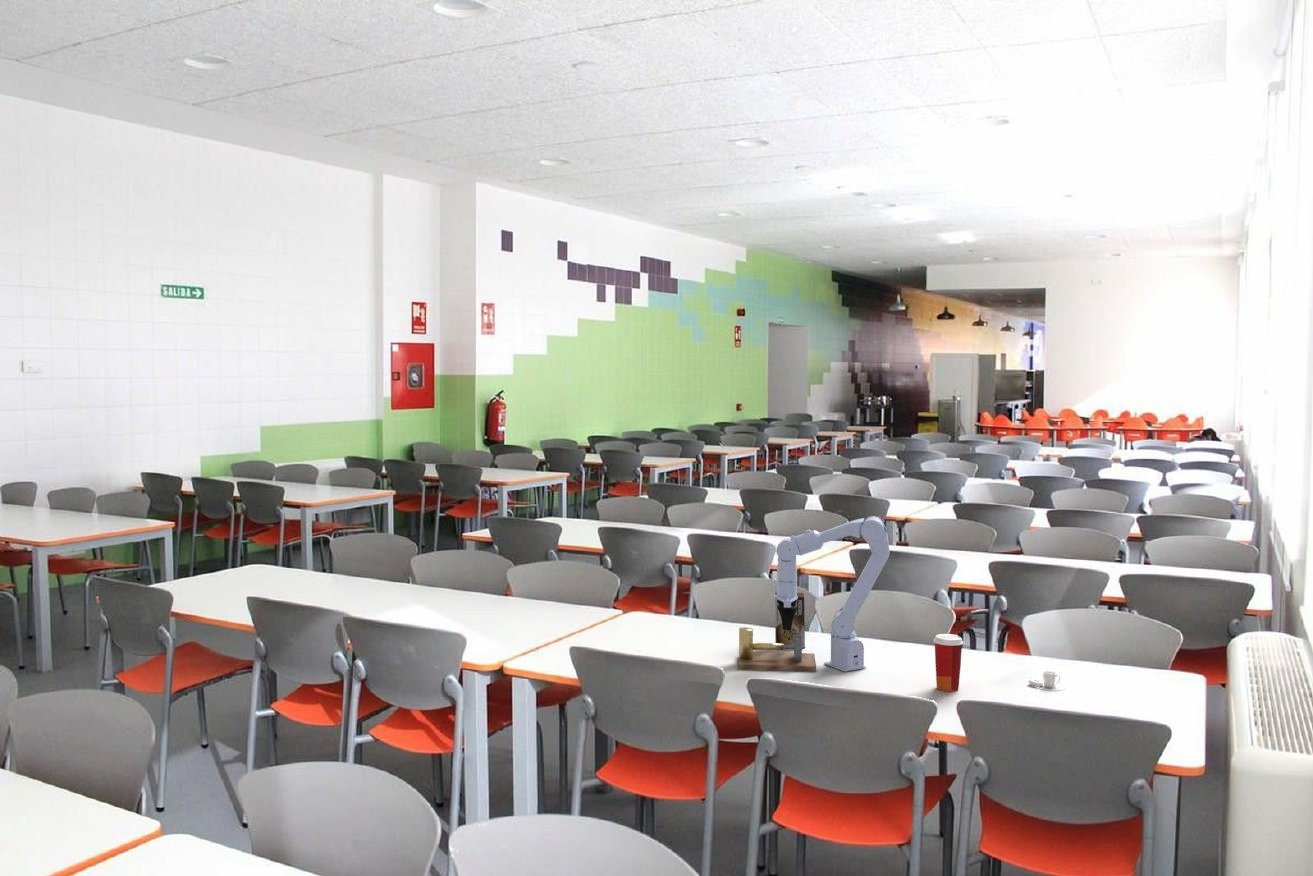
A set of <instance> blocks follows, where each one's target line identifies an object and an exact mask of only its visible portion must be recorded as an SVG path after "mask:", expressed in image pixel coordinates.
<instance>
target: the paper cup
mask: <svg viewBox="0 0 1313 876" xmlns="http://www.w3.org/2000/svg"><path fill="white" fill-rule="evenodd" d="M932 642H933V643H934V658H935V659H934V660H935V662H934V663H935V680H936V682H935V683H936V689H937V690H938V691H941V692H946V693H948V692H949V693H953V692H958V691H959V687H960V679H961V678H960V674H961V668H962V667H961V665H962V653H963V652H962V651H963V644H964V641H963V639H962V637H961V636H959V635H956V634H951V633H939V634H938V633H937V634H936V635H935V637H934V639H933V641H932Z"/></svg>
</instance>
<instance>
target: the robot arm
mask: <svg viewBox="0 0 1313 876" xmlns="http://www.w3.org/2000/svg"><path fill="white" fill-rule="evenodd" d="M849 536H850V537H854V538H857V539H860V538H861V537H862V538H863V539H864V542H866V543H867V544H868V547H869V550H870V553H871V555H870V556H869V558H868V560H867V562H866V564H865V566H864V568H863V570H862V572H861V573H860V575H859V577H858V579H857V580H856V582H855V584H854V586H853V588H852V589H851V591H850V594H849V595H848V597H847V598H846V599H845V600H846V601H845V602H844V604H843V605H842V607H841V608H840V609H839V610H837V611H836V612H835V613H834V614H833V618H832V621H831V624H830V625H831V629H832V631H831V632H830V661H824V662H823V664H824V665H826V666H828V667H832V668H834V669H836V670H839V671H843V672H850V671H851V672H852V671H856V670H862V669H866V668H867V665H865V664H864V662H865V661H864V660H865V659H864V658H865V657H864V656H865V647H864V644H863V642H862V641H861V640H860V639H858V637H857V632H856V631H855V630H854V629H855V624H856V619H857V618H858V615H859V613H860V611H861V609H862V607H863V605H864V603H865V602H866V600H867V598H868V596H869V594H870V593H871V590H872V589H873V587H874V585H875V583H876V581H877V580H878V577H879V575H880V574H881V572H882V571H883V569H884V567H885V565H886V563H887V562H888V559H889V558H890V553H891V552H890V544H889V543H890V542H889V537H888V529H887V527H886V525H885V523H884V520H882V518H880V517H878V516H876V515H872V516H871V515H870V516H867V517H866V518H865V517H863V518H862V517H861V518H858V519H853V520H850V521H848V522H845V523H843V524H840V525H837V526H835V527H832V528H830V529H827V530H823V531H821V532H820V531H818V530H815V529H813V530H811V529H806V530H805V532H804V533H801V534H798V535H790V536H789V537H790V538H784V539H782V540H781V541H780V542H779V543H778V544H777V546H776V555H777V565H776V567H777V568H776V570H777V573H776V582H777V583H776V584H777V585H776V593H777V595H775V594H773V595H772V597H773V599H775V598H777V602H778V604H779V605H777V608H778V610H779V612H780V615H781V619H782V626H783V630H791V627H792V622H793V617H794V614H795V612H796V610H797V607H794V605H795V603H796V599H798V596H797V593H798V564H797V556H803V555H807V554H809V553H810V554H811V553H813V552H816V551H819V550H821V549H823V546H824V544H825V543H828V542H832V541H835V540H838V539H842V538H845V537H849Z"/></svg>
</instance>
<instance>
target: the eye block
mask: <svg viewBox="0 0 1313 876" xmlns="http://www.w3.org/2000/svg"><path fill="white" fill-rule="evenodd" d="M802 649H803V648H802V637H801V633H795V632H794V648H793V652H775V651H774V652H771V651H769V652H767V651H765V652H764V651H753V658H750V659H743V658H740V657H739V656H738V662H737V670H742V671H743V670H744V671H745V670H746V671H771V672H772V671H774V672H776V671H777V672H779V671H780V672H781V671H782V672H810V673H811V672H812V673H813V672H815V673H816V672H817V661H816V657H815V653H808V652H806V653H804V652H803V650H802Z"/></svg>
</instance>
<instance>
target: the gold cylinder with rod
mask: <svg viewBox="0 0 1313 876" xmlns="http://www.w3.org/2000/svg"><path fill="white" fill-rule="evenodd" d="M754 651H783V652H784V651H785V648H784V644H782V643H775V642H754V629H753V628H752V627H746V626H745V627H740V628H739V629H738V658H739V657H740V658H743V659H750V658H753V652H754Z"/></svg>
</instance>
